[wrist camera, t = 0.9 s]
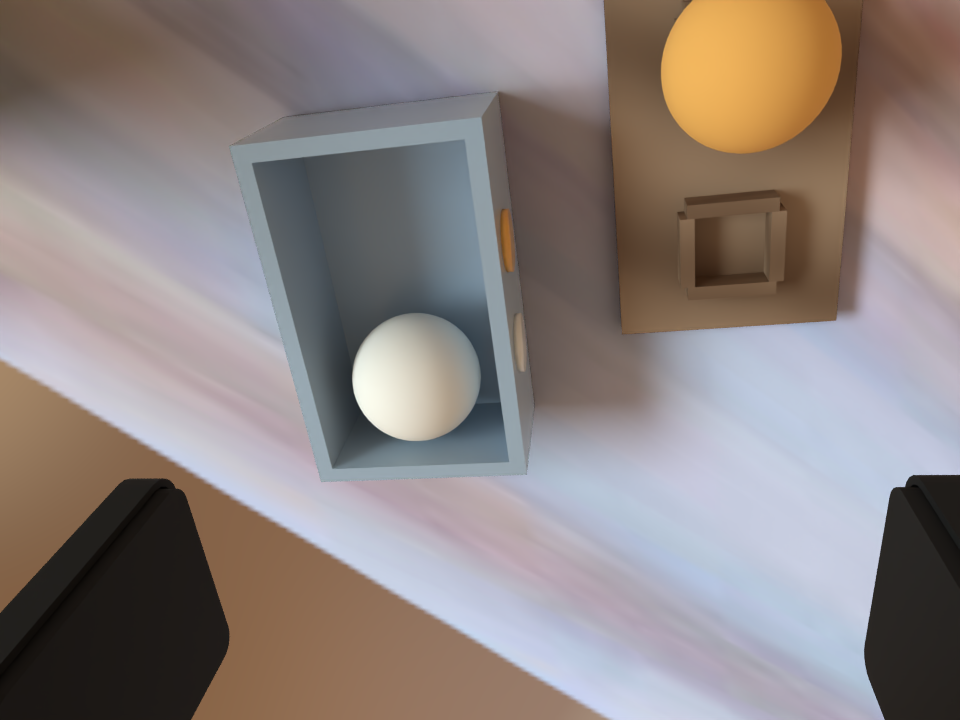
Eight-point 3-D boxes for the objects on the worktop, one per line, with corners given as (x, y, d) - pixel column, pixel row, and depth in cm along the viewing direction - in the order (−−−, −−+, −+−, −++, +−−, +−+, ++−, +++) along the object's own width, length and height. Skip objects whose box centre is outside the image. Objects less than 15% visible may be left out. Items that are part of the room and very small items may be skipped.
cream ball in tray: (359, 297, 32) (322, 353, 27) (479, 288, 31) (461, 343, 26) (382, 402, 34) (351, 469, 29) (494, 396, 33) (480, 464, 29)
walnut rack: (587, -299, 22) (588, -318, 21) (883, -359, 21) (907, -385, 19) (621, 325, 31) (623, 345, 30) (830, 311, 30) (843, 331, 28)
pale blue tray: (283, 117, 29) (229, 146, 25) (503, 90, 28) (487, 116, 23) (354, 415, 35) (321, 482, 30) (539, 406, 33) (532, 474, 29)
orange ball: (652, -19, 24) (667, -13, 20) (821, -43, 23) (875, -42, 19) (656, 142, 26) (670, 180, 22) (810, 126, 26) (857, 162, 21)
